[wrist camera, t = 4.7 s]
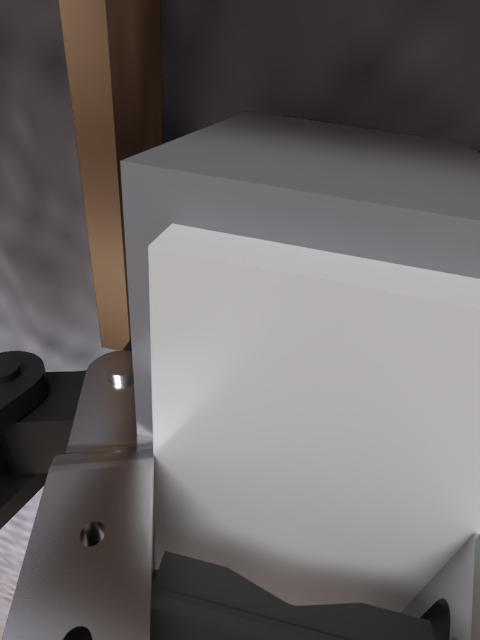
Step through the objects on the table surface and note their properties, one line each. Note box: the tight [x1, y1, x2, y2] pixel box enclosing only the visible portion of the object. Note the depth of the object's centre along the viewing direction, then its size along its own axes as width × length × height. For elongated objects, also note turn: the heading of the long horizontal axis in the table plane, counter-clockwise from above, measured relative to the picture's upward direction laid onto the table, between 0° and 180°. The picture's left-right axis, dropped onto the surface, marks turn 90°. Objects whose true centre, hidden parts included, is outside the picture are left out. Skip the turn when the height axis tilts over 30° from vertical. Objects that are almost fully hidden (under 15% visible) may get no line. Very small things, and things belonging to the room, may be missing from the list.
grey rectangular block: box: [120, 111, 480, 613], centre depth 9 cm, size 10×5×8 cm, turn 172°
